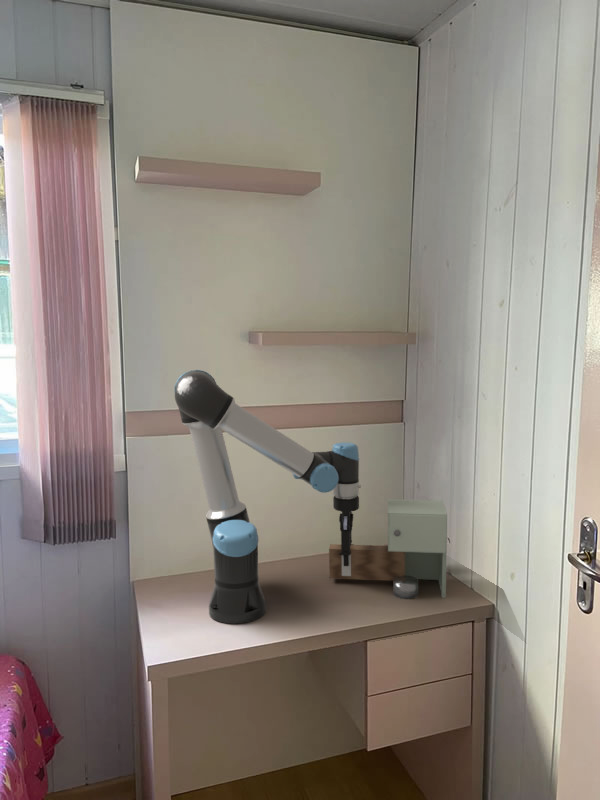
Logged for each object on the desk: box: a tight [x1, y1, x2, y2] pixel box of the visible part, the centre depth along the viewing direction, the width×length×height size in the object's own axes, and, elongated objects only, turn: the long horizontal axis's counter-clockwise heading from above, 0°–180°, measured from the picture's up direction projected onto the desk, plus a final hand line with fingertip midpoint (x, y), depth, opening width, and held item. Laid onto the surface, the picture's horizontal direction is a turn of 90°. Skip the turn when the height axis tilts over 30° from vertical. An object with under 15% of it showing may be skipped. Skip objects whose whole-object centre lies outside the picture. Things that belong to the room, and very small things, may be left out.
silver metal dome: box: [392, 576, 419, 600], centre depth 183 cm, size 7×7×4 cm
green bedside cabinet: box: [387, 498, 448, 599], centre depth 186 cm, size 16×16×24 cm
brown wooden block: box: [328, 543, 405, 582], centre depth 191 cm, size 22×4×9 cm, turn 83°
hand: (346, 572), depth 192 cm, fingers closed on brown wooden block, 4 cm apart
